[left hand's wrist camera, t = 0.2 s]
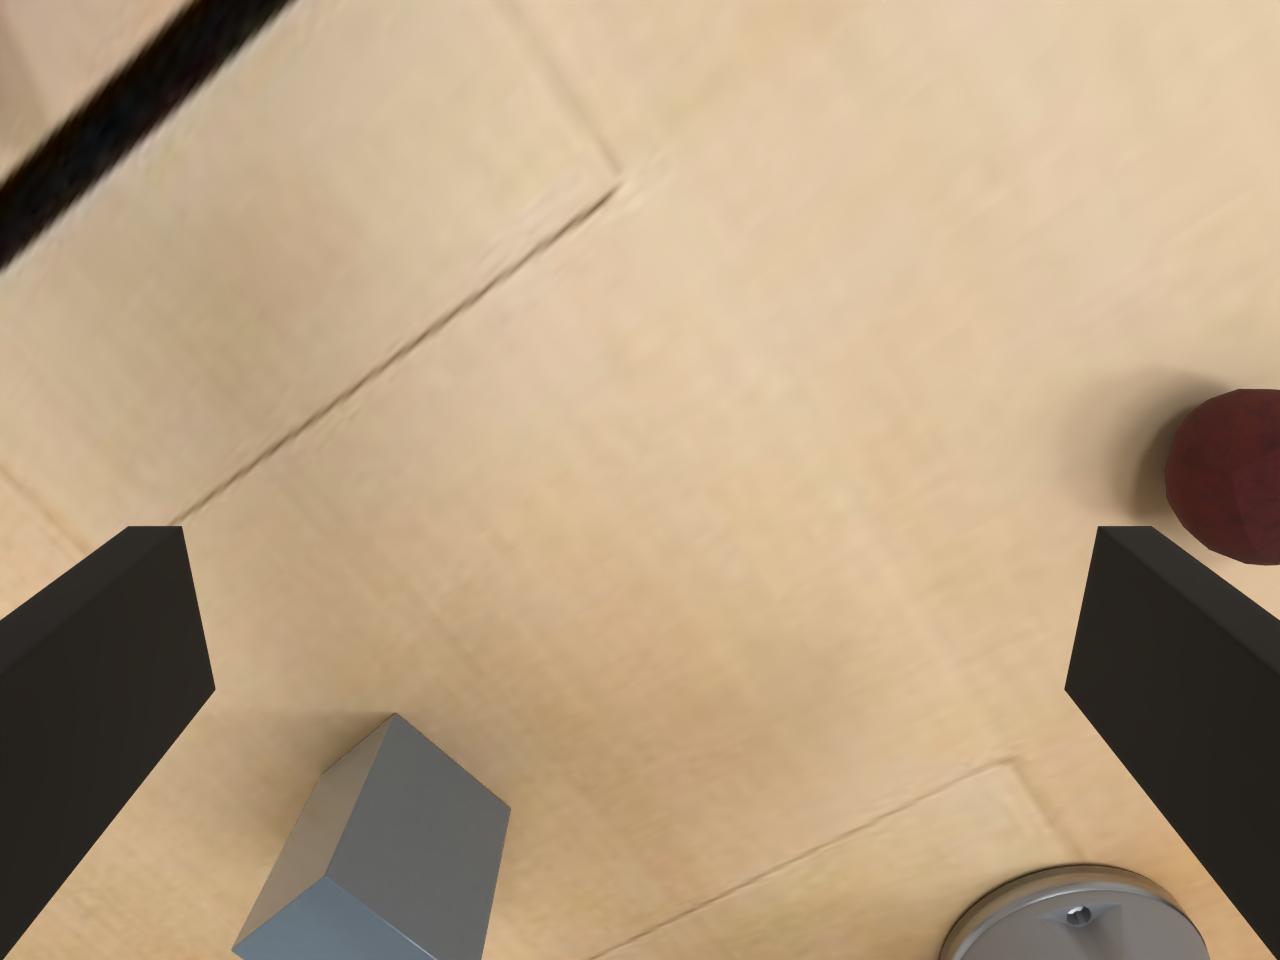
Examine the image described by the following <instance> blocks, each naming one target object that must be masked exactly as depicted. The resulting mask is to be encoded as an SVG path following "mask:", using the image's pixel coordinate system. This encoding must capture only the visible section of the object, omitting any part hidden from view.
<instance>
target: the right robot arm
mask: <svg viewBox="0 0 1280 960" xmlns="http://www.w3.org/2000/svg"><path fill="white" fill-rule="evenodd" d="M940 960H1210V958H1209V954H1208V951H1207V948H1206V945H1205V942H1204V940H1203V938H1202V936H1201V934H1200V932H1199V931H1198V930H1197V928H1196V927H1195V925H1194V924H1193V923H1192V921H1191V920H1190V919H1189V917H1188V916H1187V914H1186V913H1185V912H1184V910H1183V909H1182V907H1181V906H1180V905H1179V903H1178V902H1177V901H1176V899H1175V898H1174V897H1173V896H1172V895H1171V894H1170V893H1169V892H1167V891H1166V890H1165V889H1164V888H1163V887H1161V886H1160V885H1158V884H1156V883H1155V882H1153V881H1151V880H1149V879H1147V878H1145V877H1143V876H1141V875H1138V874H1135V873H1133V872H1129V871H1126V870H1122V869H1117V868H1112V867H1103V866H1069V867H1061V868H1055V869H1050V870H1045V871H1041V872H1038V873H1034V874H1031V875H1028V876H1025V877H1023V878H1020V879H1017V880H1015V881H1013V882H1011V883H1008V884H1006V885H1005V886H1003V887H1001V888H999V889H997V890H995V891H994V892H992V893H991V894H989V895H987V896H986V897H985V898H983V899H982V900H981V901H979V902H978V903H977V904H975V905H974V906H973V907H972V908H971V909H970V910H969V911H968V912H967V913H966V914H965V915H964V916H963V917H962V918H961V919H960V920H959V922H958V923H957V924H956V926H955V927H954V928H953V930H952V931H951V933H950V935H949V936H948V938H947V940H946V942H945V944H944V946H943V949H942V952H941V955H940Z"/></svg>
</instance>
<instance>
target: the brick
mask: <svg viewBox="0 0 1280 960" xmlns="http://www.w3.org/2000/svg"><path fill="white" fill-rule="evenodd" d="M510 811H511V809H510V808H509V807H508V806H507V805H506V804H505V803H503V802H502V801H501V800H500V799H499V798H497V797H496V796H495V795H494V794H493V793H491V792H490V791H489V790H488V789H487V788H485V787H484V786H483V785H482V784H481V783H479V782H478V781H477V780H476V779H475V778H473V777H472V776H471V775H470V774H469V773H468V772H466V771H465V770H464V769H463V768H462V767H460V766H459V765H458V764H457V763H456V762H454V761H453V760H452V759H451V758H450V757H448V756H447V755H446V754H445V753H444V752H442V751H441V750H440V749H439V748H438V747H436V746H435V745H434V744H433V743H432V742H430V741H429V740H428V739H427V738H426V737H424V736H423V735H422V734H421V733H420V732H418V731H417V730H416V729H415V728H414V727H412V726H411V725H410V724H409V723H408V722H406V721H405V720H404V719H403V718H402V717H400V716H399V715H398V714H397V713H395V714H394V715H392V716H391V717H390V718H389V719H388V720H386V721H385V722H384V723H383V724H382V725H380V726H379V727H378V728H377V729H376V730H374V731H373V732H372V733H371V734H370V735H368V736H367V737H366V738H365V739H364V740H362V741H361V742H360V743H359V744H358V745H356V746H355V747H354V748H353V749H352V750H350V751H349V752H348V753H347V754H346V755H345V756H343V757H342V758H341V759H340V760H339V761H337V762H336V763H335V764H334V765H333V766H331V767H330V768H329V769H328V770H327V771H325V772H324V773H323V774H322V775H321V776H320V777H319V779H318V781H317V783H316V785H315V787H314V789H313V791H312V793H311V795H310V797H309V799H308V801H307V803H306V805H305V807H304V809H303V811H302V813H301V814H300V816H299V818H298V820H297V822H296V824H295V826H294V828H293V830H292V832H291V834H290V836H289V838H288V840H287V842H286V844H285V846H284V848H283V850H282V852H281V853H280V855H279V857H278V859H277V861H276V863H275V865H274V867H273V869H272V871H271V873H270V875H269V877H268V879H267V881H266V883H265V885H264V887H263V889H262V891H261V892H260V894H259V896H258V898H257V900H256V902H255V904H254V906H253V908H252V910H251V912H250V914H249V916H248V918H247V920H246V922H245V924H244V926H243V928H242V930H241V931H240V933H239V935H238V937H237V939H236V941H235V943H234V945H233V947H232V949H231V951H232V952H233V953H235V954H236V955H238V956H239V957H241V958H242V959H244V960H481V959H482V954H483V949H484V944H485V938H486V933H487V928H488V923H489V918H490V913H491V908H492V903H493V898H494V893H495V888H496V882H497V877H498V872H499V867H500V862H501V857H502V852H503V847H504V842H505V837H506V832H507V826H508V821H509V816H510Z"/></svg>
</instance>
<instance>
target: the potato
mask: <svg viewBox="0 0 1280 960" xmlns="http://www.w3.org/2000/svg"><path fill="white" fill-rule="evenodd" d="M1165 478H1166V494H1167V499H1168V501H1169V503H1170V506H1171V508H1172V509H1173V511H1174V513H1175V514H1176V516H1177V517H1178V519H1179V521H1180V522H1181V524H1182V525H1183V527H1184V528H1185V529H1187V530H1188V531H1189V532H1190V533H1191V534H1192V535H1193V536H1194V537H1195V538H1196V539H1197V540H1199V541H1200V542H1201V543H1202V544H1203V545H1204V546H1206V547H1207V548H1208V549H1209V550H1211V551H1214V552H1217V553H1219V554H1222V555H1224V556H1227V557H1230V558H1232V559H1235V560H1237V561H1240V562H1243V563H1245V564H1254V565H1280V390H1273V389H1237V390H1235V391H1232V392H1229V393H1226V394H1223V395H1220V396H1217V397H1214V398H1211V399H1209V400H1207V401H1205V402H1204V403H1203V404H1202V405H1200V406H1199V407H1198V408H1197V409H1195V410H1194V411H1193V412H1192V413H1190V414H1189V415H1188V416H1187V418H1186V419H1185V421H1184V422H1183V424H1182V425H1181V427H1180V428H1179V429H1178V431H1177V432H1176V434H1175V436H1174V440H1173V443H1172V446H1171V450H1170V453H1169V456H1168V460H1167V464H1166V468H1165Z"/></svg>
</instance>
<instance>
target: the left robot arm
mask: <svg viewBox="0 0 1280 960" xmlns="http://www.w3.org/2000/svg"><path fill="white" fill-rule="evenodd" d="M215 690H216V689H215V684H214V679H213V674H212V669H211V665H210V660H209V655H208V650H207V645H206V640H205V636H204V631H203V626H202V621H201V616H200V611H199V607H198V602H197V597H196V592H195V587H194V582H193V578H192V573H191V568H190V563H189V558H188V553H187V549H186V544H185V539H184V534H183V529H182V526H128V527H127V528H125V529H124V530H123V531H121V532H120V533H119V534H117V535H116V536H115V537H113V538H112V539H110V540H109V541H108V542H106V543H105V544H104V545H102V546H101V547H100V548H98V549H97V550H95V551H94V552H93V553H91V554H90V555H89V556H87V557H86V558H85V559H83V560H82V561H81V562H79V563H78V564H76V565H75V566H74V567H72V568H71V569H70V570H68V571H67V572H66V573H64V574H63V575H61V576H60V577H59V578H57V579H56V580H55V581H53V582H52V583H51V584H49V585H48V586H47V587H45V588H44V589H42V590H41V591H40V592H38V593H37V594H36V595H34V596H33V597H32V598H30V599H29V600H27V601H26V602H25V603H23V604H22V605H21V606H19V607H18V608H17V609H15V610H14V611H13V612H11V613H10V614H8V615H7V616H6V617H4V618H3V619H2V620H0V960H3V959H4V958H5V956H6V955H7V954H8V953H9V951H10V950H11V949H12V948H13V946H14V945H15V944H16V942H17V941H18V940H19V939H20V937H21V936H22V935H23V934H24V932H25V931H26V930H27V929H28V927H29V926H30V925H31V923H32V922H33V921H34V920H35V918H36V917H37V916H38V915H39V913H40V912H41V911H42V909H43V908H44V907H45V906H46V904H47V903H48V902H49V901H50V899H51V898H52V897H53V895H54V894H55V893H56V892H57V890H58V889H59V888H60V887H61V885H62V884H63V883H64V881H65V880H66V879H67V878H68V876H69V875H70V874H71V873H72V871H73V870H74V869H75V868H76V866H77V865H78V864H79V862H80V861H81V860H82V859H83V857H84V856H85V855H86V854H87V852H88V851H89V850H90V848H91V847H92V846H93V845H94V843H95V842H96V841H97V840H98V838H99V837H100V836H101V834H102V833H103V832H104V831H105V829H106V828H107V827H108V826H109V824H110V823H111V822H112V820H113V819H114V818H115V817H116V815H117V814H118V813H119V812H120V810H121V809H122V808H123V807H124V805H125V804H126V803H127V801H128V800H129V799H130V798H131V796H132V795H133V794H134V793H135V791H136V790H137V789H138V787H139V786H140V785H141V784H142V782H143V781H144V780H145V779H146V777H147V776H148V775H149V773H150V772H151V771H152V770H153V768H154V767H155V766H156V765H157V763H158V762H159V761H160V759H161V758H162V757H163V756H164V754H165V753H166V752H167V751H168V749H169V748H170V747H171V746H172V744H173V743H174V742H175V740H176V739H177V738H178V737H179V735H180V734H181V733H182V732H183V730H184V729H185V728H186V726H187V725H188V724H189V723H190V721H191V720H192V719H193V718H194V716H195V715H196V714H197V712H198V711H199V710H200V709H201V707H202V706H203V705H204V704H205V702H206V701H207V700H208V698H209V697H210V696H211V695H212V693H213V692H214V691H215ZM1064 690H1065V691H1066V692H1067V693H1068V695H1069V696H1070V697H1071V698H1072V700H1073V701H1074V702H1075V704H1076V705H1077V706H1078V707H1079V709H1080V710H1081V711H1082V712H1083V714H1084V715H1085V716H1086V718H1087V719H1088V720H1089V721H1090V723H1091V724H1092V725H1093V726H1094V728H1095V729H1096V730H1097V732H1098V733H1099V734H1100V735H1101V737H1102V738H1103V739H1104V740H1105V742H1106V743H1107V744H1108V746H1109V747H1110V748H1111V749H1112V751H1113V752H1114V753H1115V754H1116V756H1117V757H1118V758H1119V759H1120V761H1121V762H1122V763H1123V765H1124V766H1125V767H1126V768H1127V770H1128V771H1129V772H1130V773H1131V775H1132V776H1133V777H1134V779H1135V780H1136V781H1137V782H1138V784H1139V785H1140V786H1141V787H1142V789H1143V790H1144V791H1145V793H1146V794H1147V795H1148V796H1149V798H1150V799H1151V800H1152V801H1153V803H1154V804H1155V805H1156V807H1157V808H1158V809H1159V810H1160V812H1161V813H1162V814H1163V815H1164V817H1165V818H1166V819H1167V820H1168V822H1169V823H1170V824H1171V826H1172V827H1173V828H1174V829H1175V831H1176V832H1177V833H1178V834H1179V836H1180V837H1181V838H1182V840H1183V841H1184V842H1185V843H1186V845H1187V846H1188V847H1189V848H1190V850H1191V851H1192V852H1193V854H1194V855H1195V856H1196V857H1197V859H1198V860H1199V861H1200V862H1201V864H1202V865H1203V866H1204V868H1205V869H1206V870H1207V871H1208V873H1209V874H1210V875H1211V876H1212V878H1213V879H1214V880H1215V881H1216V883H1217V884H1218V885H1219V887H1220V888H1221V889H1222V890H1223V892H1224V893H1225V894H1226V895H1227V897H1228V898H1229V899H1230V901H1231V902H1232V903H1233V904H1234V906H1235V907H1236V908H1237V909H1238V911H1239V912H1240V913H1241V915H1242V916H1243V917H1244V918H1245V920H1246V921H1247V922H1248V923H1249V925H1250V926H1251V927H1252V929H1253V930H1254V931H1255V932H1256V934H1257V935H1258V936H1259V937H1260V939H1261V940H1262V941H1263V942H1264V944H1265V945H1266V946H1267V948H1268V949H1269V950H1270V951H1271V953H1272V954H1273V955H1274V956H1275V958H1276V959H1277V960H1280V620H1278V619H1277V618H1276V617H1274V616H1273V615H1272V614H1270V613H1269V612H1267V611H1266V610H1265V609H1263V608H1262V607H1261V606H1259V605H1258V604H1257V603H1255V602H1254V601H1253V600H1251V599H1250V598H1248V597H1247V596H1246V595H1244V594H1243V593H1242V592H1240V591H1239V590H1238V589H1236V588H1235V587H1233V586H1232V585H1231V584H1229V583H1228V582H1227V581H1225V580H1224V579H1223V578H1221V577H1220V576H1219V575H1217V574H1216V573H1214V572H1213V571H1212V570H1210V569H1209V568H1208V567H1206V566H1205V565H1204V564H1202V563H1201V562H1199V561H1198V560H1197V559H1195V558H1194V557H1193V556H1191V555H1190V554H1189V553H1187V552H1186V551H1185V550H1183V549H1182V548H1180V547H1179V546H1178V545H1176V544H1175V543H1174V542H1172V541H1171V540H1170V539H1168V538H1167V537H1165V536H1164V535H1163V534H1161V533H1160V532H1159V531H1157V530H1156V529H1155V528H1153V527H1152V526H1098V529H1097V534H1096V539H1095V544H1094V549H1093V553H1092V558H1091V563H1090V568H1089V573H1088V578H1087V582H1086V587H1085V592H1084V597H1083V602H1082V607H1081V611H1080V616H1079V621H1078V626H1077V631H1076V636H1075V640H1074V645H1073V650H1072V655H1071V660H1070V665H1069V669H1068V674H1067V679H1066V684H1065V689H1064Z"/></svg>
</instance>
